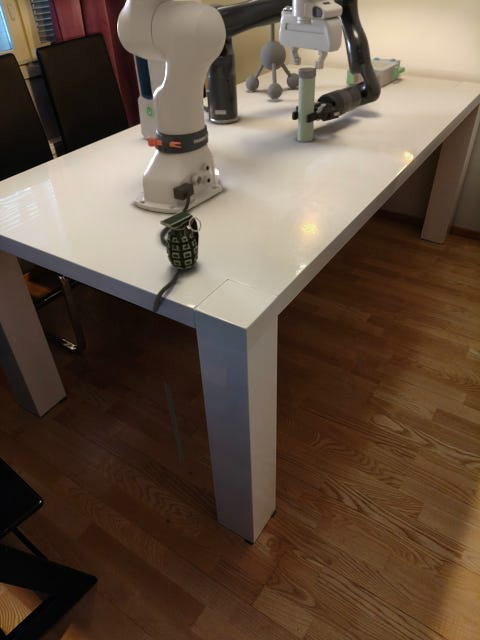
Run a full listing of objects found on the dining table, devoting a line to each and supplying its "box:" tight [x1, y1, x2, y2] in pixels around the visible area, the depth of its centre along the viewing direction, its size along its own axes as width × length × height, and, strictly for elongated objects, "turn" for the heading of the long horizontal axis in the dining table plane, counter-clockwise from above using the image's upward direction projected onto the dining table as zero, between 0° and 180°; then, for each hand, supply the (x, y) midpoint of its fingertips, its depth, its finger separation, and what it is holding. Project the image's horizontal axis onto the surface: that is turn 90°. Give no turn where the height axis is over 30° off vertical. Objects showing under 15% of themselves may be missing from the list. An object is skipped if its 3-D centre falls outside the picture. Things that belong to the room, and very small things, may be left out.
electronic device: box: [133, 54, 166, 140], centre depth 143 cm, size 12×8×30 cm, turn 47°
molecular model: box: [245, 23, 299, 100], centre depth 182 cm, size 24×22×30 cm
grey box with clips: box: [346, 57, 406, 88], centre depth 197 cm, size 26×6×20 cm
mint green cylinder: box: [297, 76, 316, 143], centre depth 140 cm, size 4×4×18 cm
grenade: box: [159, 211, 202, 271], centre depth 88 cm, size 7×6×10 cm
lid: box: [297, 67, 317, 78], centre depth 135 cm, size 5×5×2 cm
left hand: (307, 66), depth 134 cm, fingers open, 7 cm apart
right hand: (300, 117), depth 140 cm, fingers closed on mint green cylinder, 4 cm apart
